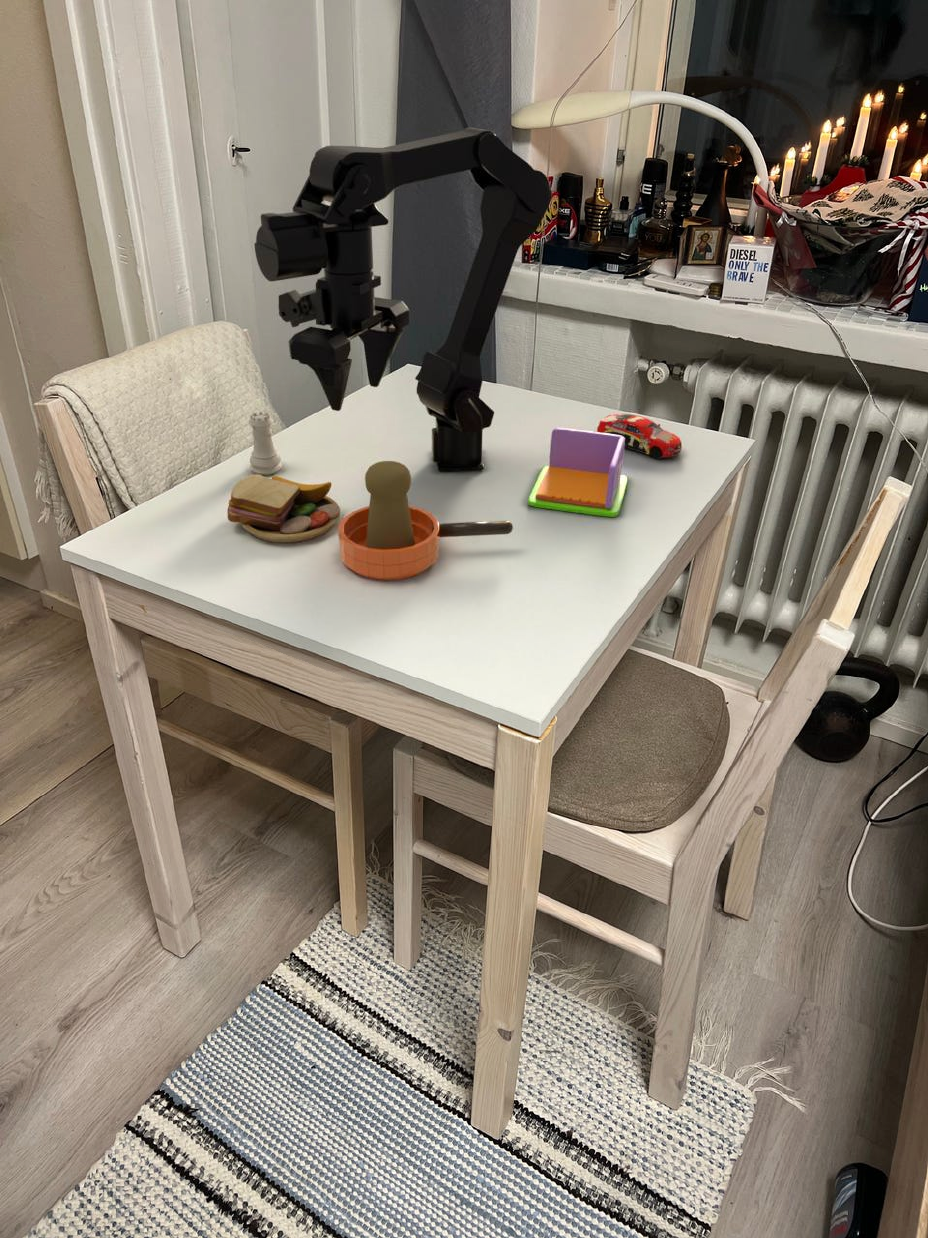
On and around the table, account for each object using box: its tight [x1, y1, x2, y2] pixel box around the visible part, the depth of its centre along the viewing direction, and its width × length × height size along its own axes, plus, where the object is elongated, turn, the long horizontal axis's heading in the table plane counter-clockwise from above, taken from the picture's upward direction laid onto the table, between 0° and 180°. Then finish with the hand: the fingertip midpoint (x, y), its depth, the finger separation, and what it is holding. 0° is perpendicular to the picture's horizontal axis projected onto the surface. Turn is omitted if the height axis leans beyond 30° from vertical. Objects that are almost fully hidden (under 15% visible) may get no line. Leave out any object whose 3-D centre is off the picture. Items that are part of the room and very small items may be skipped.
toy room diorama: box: [527, 427, 629, 518], centre depth 121 cm, size 12×12×7 cm
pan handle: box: [432, 520, 514, 538], centre depth 108 cm, size 10×2×2 cm, turn 97°
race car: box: [596, 413, 683, 460], centre depth 135 cm, size 13×5×4 cm, turn 50°
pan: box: [338, 504, 440, 581], centre depth 108 cm, size 12×12×4 cm
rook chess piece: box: [248, 410, 283, 476], centre depth 126 cm, size 4×4×8 cm
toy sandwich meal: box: [227, 473, 341, 543], centre depth 114 cm, size 12×14×5 cm
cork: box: [364, 460, 415, 550], centre depth 105 cm, size 6×6×11 cm
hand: (355, 397), depth 115 cm, fingers open, 9 cm apart
